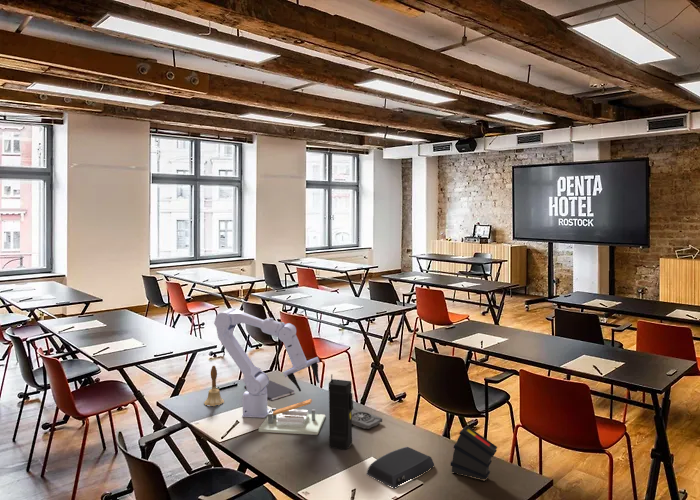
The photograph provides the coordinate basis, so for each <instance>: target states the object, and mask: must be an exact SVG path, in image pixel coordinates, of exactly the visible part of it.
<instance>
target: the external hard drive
mask: <svg viewBox="0 0 700 500" xmlns="http://www.w3.org/2000/svg"><path fill="white" fill-rule="evenodd" d="M433 466H435V463H434V461H433V459H432V457H431V456H430V455H427V454H425V453H422V452H421V451H418V450H416V449H413V448H411V447H409V446H405V447H401V448H397V449H395V450H393V451H391V452H388V453H386V454H383V455H382V456H381V457H379V458H377V459H376V460H374V461H373V462H371V464H369V466H368V469H367V471H366V475H367V476H368V475H369V477H370V476H371V477H370V478H372V477H373V478H372V479H374V478H375V479H374V480H376V481H378V480H379V481H378V482H380V481H381V482H380V483H382V482H383V483H384V484H383V483H382V484H383V485H385V484H386V485H385V486H387V485H389V486H391V487H393V488H394V489H396V488H395V487H397V486H398V485H400V484H402V483H404V482H406V481H408V480H410V479H413V478H415V477H417V476H419V475H421V474H423V473H424V472H426V471H428V470H429V469H430V468H432V467H433ZM432 469H433V468H432ZM429 471H430V470H429ZM429 471H428V472H429ZM426 473H427V472H426ZM423 475H424V474H423ZM421 476H422V475H421ZM389 486H388V487H389ZM391 487H390V488H391ZM393 488H392V489H393ZM397 488H398V487H397Z"/></svg>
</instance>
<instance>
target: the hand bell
mask: <svg viewBox="0 0 700 500" xmlns="http://www.w3.org/2000/svg"><path fill="white" fill-rule="evenodd" d="M210 378H211V389H208V392H207V393H208V395H207V397H206V400H205V401H204V402H203V405H204V404H205V405H204V406H206V405H210V406H213V407H216V406H215V405H220V404H222V403H223V404H225V400H224V399H223V398H222V396H221V393H220V389H219V388H217V378H218V370H217V368H216V365H212V366H211V369H210ZM223 404H222V405H223ZM210 406H209V407H210ZM220 406H221V405H220Z"/></svg>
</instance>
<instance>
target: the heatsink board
mask: <svg viewBox="0 0 700 500" xmlns="http://www.w3.org/2000/svg"><path fill="white" fill-rule="evenodd" d="M272 410H274V411H275V410H277V408H276V407H272V408H271V411H270V412H269V413H268V415H267V416H266V417H265V418H264V421H263V422H262V423H261V425H260V426H259V428H258V433H259V432H260V433H277V434H295V435H297V434H298V435H312V436H313V435H314V436H318V434H319V432H320V430H321V428H322V426H323V423H324V421H325V419H326V414H322V413H320V414H318V413H316V409H315V408H314V409H313V408H312V409H311V413H309V410H308V409H292V410H289V411H286V412H283V413H280V414H277V415H273V413H271V412H272Z"/></svg>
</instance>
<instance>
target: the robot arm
mask: <svg viewBox="0 0 700 500" xmlns="http://www.w3.org/2000/svg"><path fill="white" fill-rule="evenodd" d="M213 324H214V326H215V328H216V334H217V338H218V340H219V341H220V343H221V345H222V346H223V347H224V348H225V350H226V352H227V353H228V355H230V357H231V359H232V360H233V361H234V363H235V364H236V366H237V367H238V369H239V370H240V371H241V373H242V374H243V383H244V384H245V386H246V389H245V390H246V391H244V392H243V394H242V401H241V402H242V418H264V419H266V418H267V416H268V413H270V412H272V408H268V399H267V388H266V386H267V385H268V384H269V380H270V377H269V375H268V374H267V373H266V372H264V371H263V370H262V369H261V368H259V367H257V366H255V364H254V362H253V361H252V360H251V358H250V357H249V356H248V354H247V353H246V351H245V350H244V349H243V346H241V344H240V343H239V341H238V339H236V336H235V335H234V331H235V326H236V325H238V324H245V325H248V326H252V327H255V328H257V329H258V328H259V329H260V330H261V332H262V333H264V334H267V335H270V336H273V337H276V338H278V340H280V341H281V342H283V345H284V347H285V350H286V353H287V355H288V357H289V360H290V362H291V365H292V367H291V368H289V369H287V370H284V371H283V372H282V373H283V376H284V378H288V379H289V380H290V382H292V383H293V384H294V385H295V386H296V388H297V389H298V392H301V391H302V390H301V388H300V385H299V383H298V381H297V378H296V376H295V373H298V372H300V371H302V370H304V369H307V368H309V367H311V369H312V373H313V374H314V377H315V381H316V383H317V384H319V383H320V380H319V364H318V363H320V359H319V357H318V356H316V357H313V358H311V359H308V360H307V358H306V356H305V353H304V351H303V347H302V346H301V344H300V341H299V338H298V336H297V327H296V326H295V325H294V324H292V323H290V322H288V323H285V322H284V321H282V322H280V321H277V320H274V318H273V317H269V318H268V317H267V318H265V319H262V318H259V317H256V316H255V315H252V314H249V313H247V312H245V311H243V310H241V309H236V308H234V307H230V308H227V309H226V310H224V311H221V312H219V313H217V315H216V316H215V318H214V323H213Z"/></svg>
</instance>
